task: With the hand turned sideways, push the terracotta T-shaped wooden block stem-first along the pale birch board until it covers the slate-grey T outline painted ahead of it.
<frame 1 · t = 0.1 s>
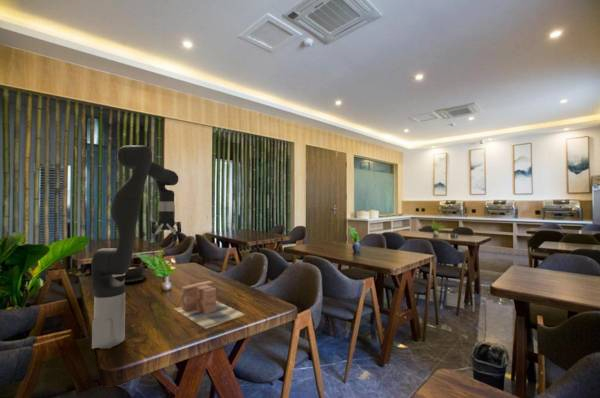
hand: (166, 241, 145), 29 cm above the table, tool pointing down, fingers open, 8 cm apart
coffee mug: (118, 292, 153), on the table
board: (202, 310, 129), on the table
T block: (203, 308, 129), point 1 cm above the table, touching board
casserole: (129, 280, 178), on the table
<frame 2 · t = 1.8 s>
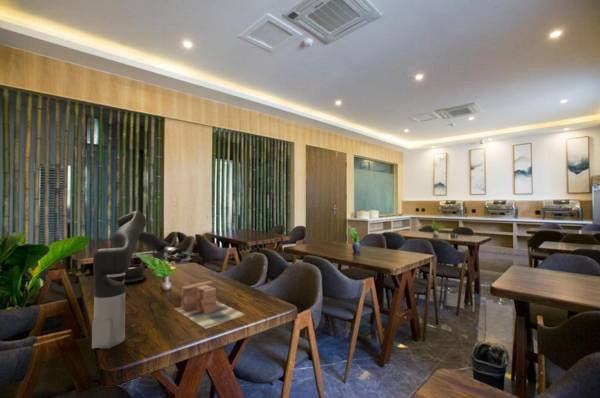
hand: (187, 259, 141), 21 cm above the table, tool horizontal, fingers open, 8 cm apart
nothing on the table moved.
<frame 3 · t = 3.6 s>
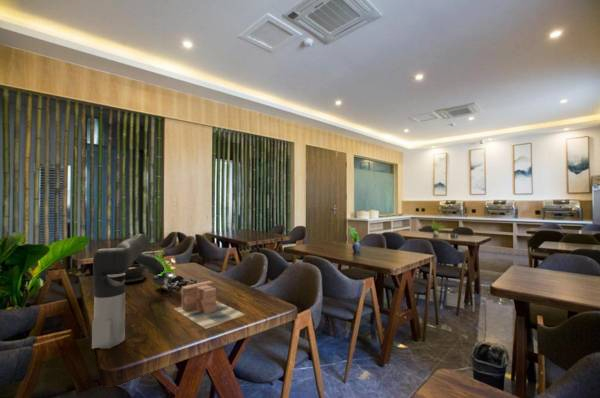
hand: (187, 287, 140), 7 cm above the table, tool horizontal, fingers open, 8 cm apart
nothing on the table moved.
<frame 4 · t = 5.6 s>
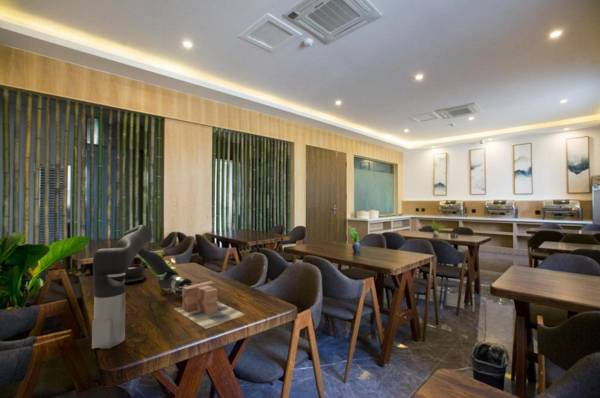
hand: (196, 291, 134), 7 cm above the table, tool horizontal
T block: (204, 308, 129), point 1 cm above the table, touching gripper
everything else where it was.
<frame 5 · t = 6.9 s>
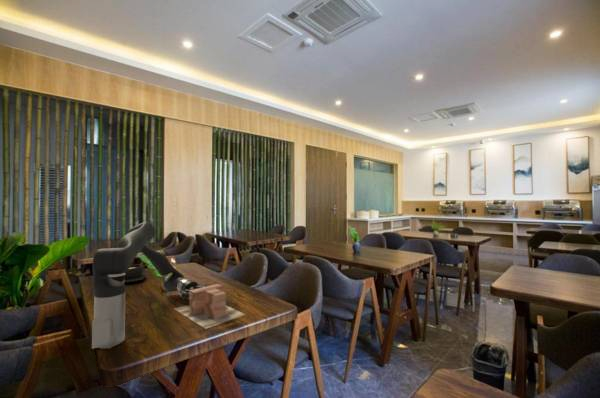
hand: (204, 295, 129), 7 cm above the table, tool horizontal
T block: (211, 313, 124), point 1 cm above the table, touching board, gripper
everything else where it was.
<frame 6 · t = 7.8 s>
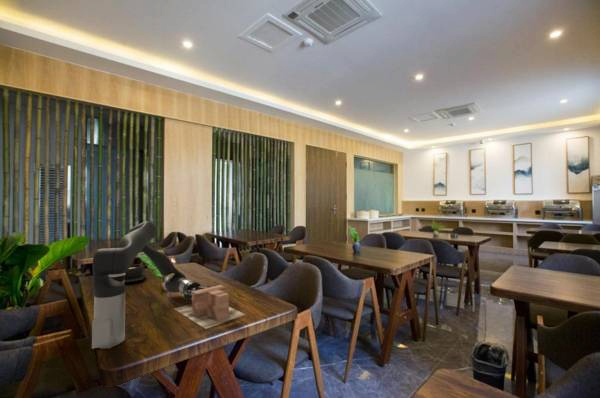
hand: (206, 295, 127), 7 cm above the table, tool horizontal
T block: (214, 314, 123), point 1 cm above the table, touching board, gripper
everything else where it was.
when the fingers open (7 cm above the table, at t = 8.4 s): T block stays where it is, resting on board.
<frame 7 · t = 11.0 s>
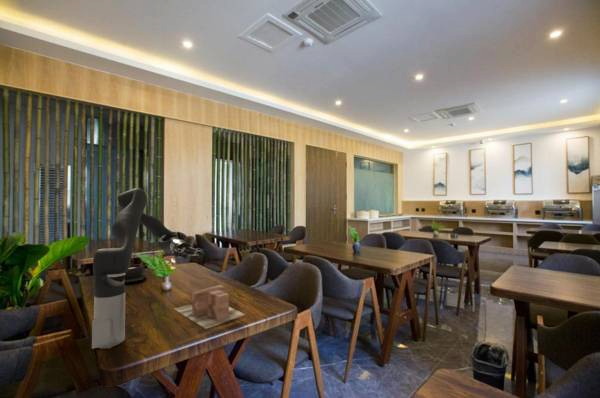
hand: (195, 256, 132), 24 cm above the table, tool horizontal, fingers open, 8 cm apart
T block: (214, 314, 123), point 1 cm above the table, touching board
everything else where it was.
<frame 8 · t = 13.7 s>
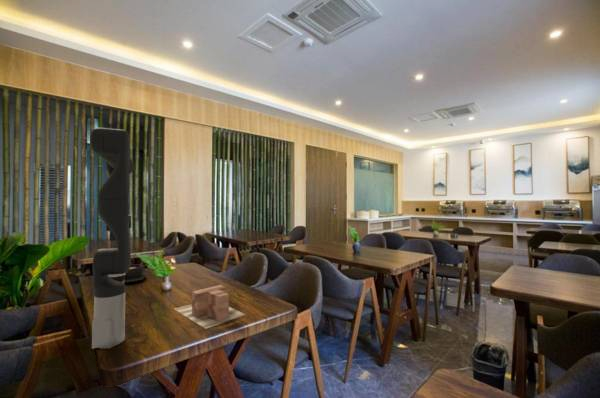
hand: (119, 239, 124), 33 cm above the table, tool pointing down, fingers open, 8 cm apart
nothing on the table moved.
at the end: T block 0.2 cm from the target spot on the board, point 0.8 cm above the board's base; T block tilted 0°; T block moved 10.2 cm from its start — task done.
